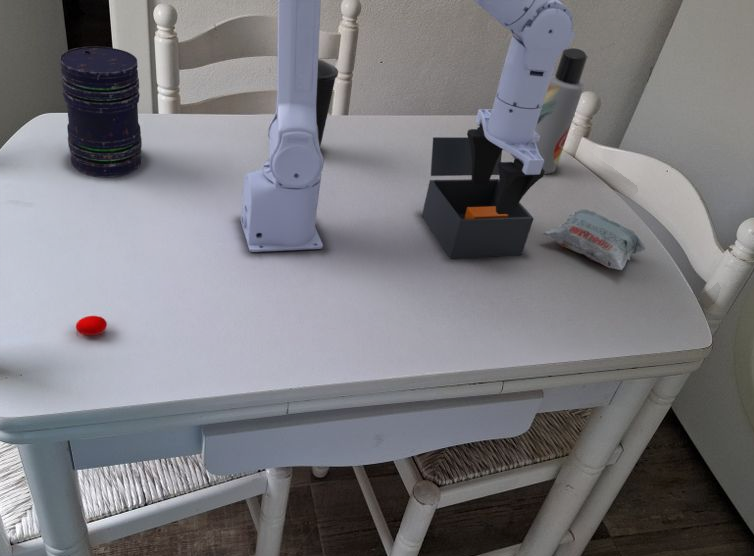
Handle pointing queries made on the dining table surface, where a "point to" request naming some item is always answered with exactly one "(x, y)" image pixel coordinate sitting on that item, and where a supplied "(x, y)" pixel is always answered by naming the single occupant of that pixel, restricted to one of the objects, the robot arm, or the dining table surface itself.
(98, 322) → the candy
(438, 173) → the bin flap
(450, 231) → the bin
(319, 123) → the drinking cup
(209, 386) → the dining table surface
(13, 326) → the dining table surface
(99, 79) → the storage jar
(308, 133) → the robot arm
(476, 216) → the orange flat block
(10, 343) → the dining table surface
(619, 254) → the packaged food
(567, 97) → the lotion bottle
